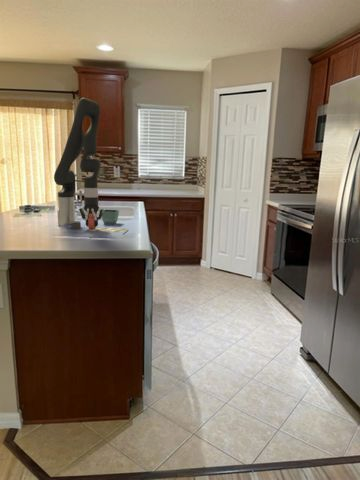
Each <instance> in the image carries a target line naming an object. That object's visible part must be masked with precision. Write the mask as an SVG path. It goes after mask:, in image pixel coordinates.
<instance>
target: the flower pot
mask: <svg viewBox="0 0 360 480" xmlns="http://www.w3.org/2000/svg"><path fill="white" fill-rule="evenodd" d="M119 212H120V211H119V209H104V211H103V214H102V218H101V219H102V223H103V224H104V225H115V224H117V222H118V219H119Z"/></svg>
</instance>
